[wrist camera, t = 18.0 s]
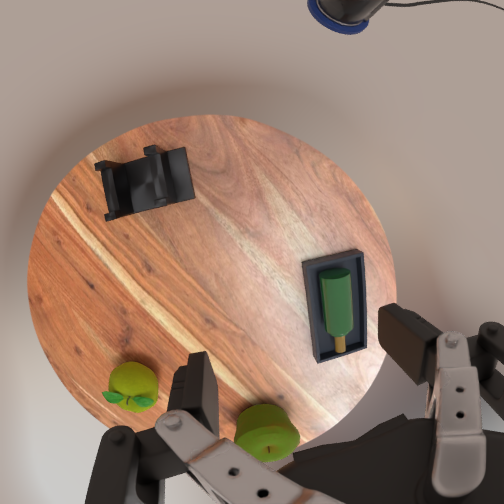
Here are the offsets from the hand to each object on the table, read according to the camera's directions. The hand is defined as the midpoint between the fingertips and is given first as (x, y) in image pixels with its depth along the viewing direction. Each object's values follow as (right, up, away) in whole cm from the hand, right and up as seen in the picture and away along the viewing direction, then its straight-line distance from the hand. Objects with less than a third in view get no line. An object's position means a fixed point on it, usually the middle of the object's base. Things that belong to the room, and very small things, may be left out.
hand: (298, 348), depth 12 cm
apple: (0, -31, +41) cm, 51 cm away
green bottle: (+13, -6, +36) cm, 39 cm away
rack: (-18, +15, +29) cm, 37 cm away
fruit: (-24, -19, +36) cm, 47 cm away
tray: (+13, -6, +37) cm, 39 cm away
